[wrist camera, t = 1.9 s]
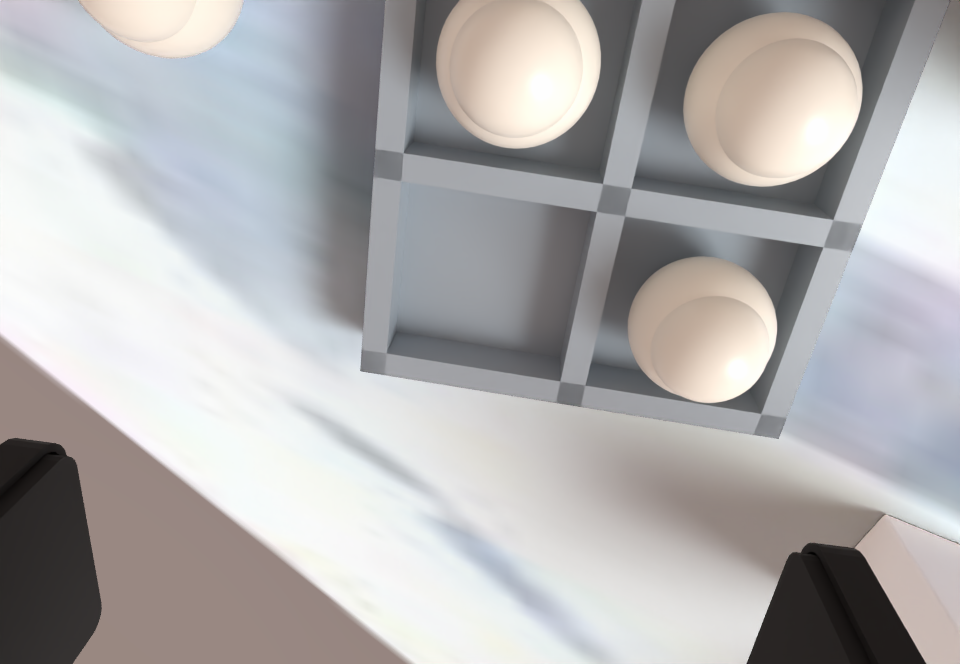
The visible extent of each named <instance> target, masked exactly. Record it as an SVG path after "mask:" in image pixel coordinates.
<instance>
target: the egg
mask: <svg viewBox="0 0 960 664" xmlns="http://www.w3.org/2000/svg"><path fill="white" fill-rule="evenodd" d="M78 1H79V2H80V4H81V5H82V6H83V8H84V9H85V10H86V11H87V12H88V13H89V15H90V16H91V17H92V18H93V19H94V20H95V21H97V22H98V23H99V24H100V25H101V26H102V27H103V28H104V29H105V30H106V31H107V32H108V33H109V34H111V35H112V36H113V37H114V38H116V39H117V40H119V41H120V42H122V43H123V44H125V45H127V46H128V47H130V48H132V49H134V50H136V51H139V52H141V53H144V54H147V55H151V56H156V57H160V58H169V59H175V58H187V57H192V56H196V55H198V54H201V53H203V52H206V51H208V50H210V49H212V48H213V47H215V46H216V45H217V44H219V43H220V42H221V41H222V40H223V39H224V38H225V37H226V36H227V35H228V34H229V33H230V32H231V30H232V29H233V27H234V26H235V24H236V22H237V20H238V17H239V15H240V12H241V9H242V6H243V1H244V0H78Z"/></svg>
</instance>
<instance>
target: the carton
mask: <svg viewBox="0 0 960 664" xmlns="http://www.w3.org/2000/svg"><path fill="white" fill-rule="evenodd" d="M949 3H950V0H385V10H384V25H383V40H382V55H381V70H380V85H379V100H378V115H377V130H376V145H375V160H374V175H373V190H372V205H371V220H370V235H369V250H368V264H367V279H366V294H365V309H364V324H363V339H362V354H361V369H360V371H363V372H369V373H375V374H381V375H387V376H393V377H400V378H406V379H412V380H418V381H424V382H430V383H437V384H443V385H449V386H455V387H461V388H468V389H474V390H480V391H486V392H492V393H498V394H505V395H511V396H517V397H523V398H529V399H536V400H542V401H548V402H554V403H560V404H566V405H573V406H579V407H585V408H591V409H597V410H604V411H610V412H616V413H622V414H628V415H634V416H641V417H647V418H653V419H659V420H665V421H671V422H678V423H684V424H690V425H696V426H702V427H709V428H715V429H721V430H727V431H733V432H739V433H746V434H752V435H758V436H764V437H770V438H777V439H779V436H780V434H781V431H782V429H783V426H784V424H785V421H786V418H787V416H788V413H789V411H790V408H791V406H792V403H793V401H794V398H795V395H796V393H797V390H798V388H799V385H800V383H801V380H802V378H803V375H804V373H805V370H806V367H807V365H808V362H809V360H810V357H811V355H812V352H813V350H814V347H815V344H816V342H817V339H818V337H819V334H820V332H821V329H822V327H823V324H824V322H825V319H826V316H827V314H828V311H829V309H830V306H831V304H832V301H833V299H834V296H835V293H836V291H837V288H838V286H839V283H840V281H841V278H842V276H843V273H844V271H845V268H846V265H847V263H848V260H849V258H850V255H851V253H852V250H853V248H854V245H855V242H856V240H857V237H858V235H859V232H860V230H861V227H862V225H863V222H864V220H865V217H866V214H867V212H868V209H869V207H870V204H871V202H872V199H873V197H874V194H875V191H876V189H877V186H878V184H879V181H880V179H881V176H882V174H883V171H884V169H885V166H886V163H887V161H888V158H889V156H890V153H891V151H892V148H893V146H894V143H895V140H896V138H897V135H898V133H899V130H900V128H901V125H902V123H903V120H904V118H905V115H906V112H907V110H908V107H909V105H910V102H911V100H912V97H913V95H914V92H915V89H916V87H917V84H918V82H919V79H920V77H921V74H922V72H923V69H924V67H925V64H926V61H927V59H928V56H929V54H930V51H931V49H932V46H933V44H934V41H935V38H936V36H937V33H938V31H939V28H940V26H941V23H942V21H943V18H944V16H945V13H946V10H947V8H948V5H949Z"/></svg>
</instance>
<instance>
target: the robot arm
mask: <svg viewBox="0 0 960 664" xmlns="http://www.w3.org/2000/svg"><path fill="white" fill-rule="evenodd" d="M101 609H102V608H101V599H100V593H99V587H98V582H97V576H96V570H95V565H94V560H93V553H92V548H91V542H90V536H89V531H88V525H87V519H86V514H85V508H84V503H83V497H82V491H81V486H80V480H79V474H78V469H77V465H76V462H75V460H74V459H73V458H72V457H68V456H67V455H66V452H65V450H64V448H63V447H62V446H61V445H59V444H56V443H49V442H41V441H33V440H26V439H19V438H13V439H8V440H7V441H5V442H4V443H2V444H1V445H0V664H73V662H74V661H75V659H76V657H77V656H78V655H79V653H80V652H81V651H82V649H83V648H84V646H85V645H86V643H87V642H88V640H89V639H90V637H91V636H92V635H93V633H94V631H95V629H96V627H97V625H98V622H99V619H100V615H101ZM747 664H926V662H925V661H924V659H923V657H922V655H921V654H920V652H919V650H918V649H917V647H916V645H915V643H914V642H913V640H912V638H911V636H910V635H909V633H908V631H907V629H906V628H905V626H904V624H903V623H902V621H901V619H900V617H899V616H898V614H897V612H896V610H895V609H894V607H893V605H892V603H891V602H890V600H889V598H888V597H887V595H886V593H885V591H884V590H883V588H882V586H881V584H880V583H879V581H878V579H877V577H876V576H875V574H874V572H873V571H872V569H871V567H870V565H869V564H868V562H867V560H866V558H865V557H864V556H863V554H862V553H861V552H860V551H859V550H857V549H855V548H848V547H840V546H833V545H825V544H817V543H808V544H807V545H806V546H805V547H804V548H803V550H802V552H801V553H797V552H794V553H792V554H790V555H789V557H788V559H787V561H786V564H785V566H784V569H783V571H782V574H781V576H780V579H779V582H778V584H777V587H776V589H775V592H774V595H773V597H772V600H771V602H770V605H769V607H768V610H767V613H766V615H765V618H764V620H763V623H762V625H761V628H760V631H759V633H758V636H757V638H756V641H755V643H754V646H753V649H752V651H751V654H750V656H749V659H748V662H747Z"/></svg>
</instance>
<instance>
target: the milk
mask: <svg viewBox="0 0 960 664" xmlns="http://www.w3.org/2000/svg"><path fill="white" fill-rule="evenodd" d="M855 549H857V550H859V551H860V552H861V553H862V554H863V556H864V557H865V558H866V560H867V562H868V564H869V565H870V567H871V569H872V571H873V572H874V574H875V576H876V577H877V579H878V581H879V583H880V584H881V586H882V588H883V590H884V591H885V593H886V595H887V597H888V598H889V600H890V602H891V603H892V605H893V607H894V609H895V610H896V612H897V614H898V616H899V617H900V619H901V621H902V623H903V624H904V626H905V628H906V629H907V631H908V633H909V635H910V636H911V638H912V640H913V642H914V643H915V645H916V647H917V649H918V650H919V652H920V654H921V655H922V657H923V659H924V661H925V662H926V664H960V545H959V544H957V543H954V542H952V541H949V540H947V539H944V538H942V537H940V536H937V535H935V534H932V533H930V532H927V531H925V530H923V529H920V528H918V527H915V526H913V525H910V524H908V523H905V522H903V521H901V520H898V519H896V518H893V517H891V516H888V515H884V516H883V517H882V518H881V519H880V520H879V521H878V522H877V523H876V525H875V526H874V527H873V528H872V529H871V530H870V531H869V532H868V534H867V535H866V536H865V537H864V538H863V539H862V540H861V541H860V542H859V544H858V545H857V546H856V547H855Z"/></svg>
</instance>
